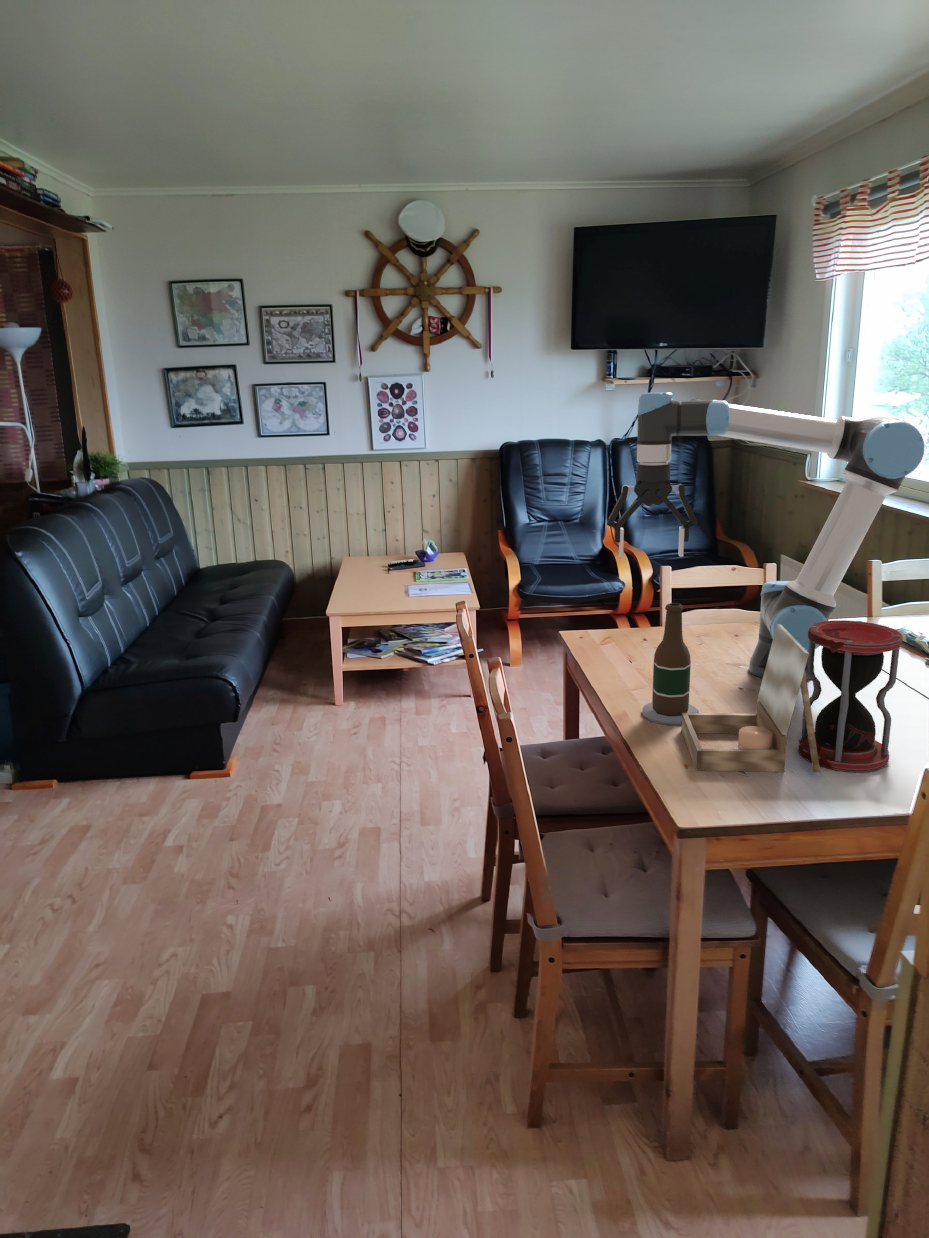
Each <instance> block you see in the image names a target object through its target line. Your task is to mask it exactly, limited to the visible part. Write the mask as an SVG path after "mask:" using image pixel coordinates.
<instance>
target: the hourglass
mask: <svg viewBox="0 0 929 1238" xmlns="http://www.w3.org/2000/svg"><path fill="white" fill-rule="evenodd" d="M808 638H809V650H808V653H809V656H808V661H807V672H808V676H809V677H810V679H809V680H811V681H812V685H813V691H812V695H811V696H809V699H810V705H811V706H812V705H813V703H814V702H816V701H817V700H818V699H819V698H820V696H821V694H822V685H821V682H820V680H819V679H818V678H817V677H816V674H815V670H814V671H813V667H814V668H815V656H816V655H815V654H816V653H815V652H816V649H815V643H816V644H818V645H820V646H821V653H820V655H821V656H820V657H821V658H820V659H821V667H822V669H823V672H824V674H825V675H826V676H827V678H828V679H829V681H831V682H832V683H833V685H835V687H836V688H837V690H839V692H840V695H838V696H837V697H835V698H834V699H833V700H832V701H830V702H829V703H828V704H827V705H825V706H824V707H823V708H822V709H821V710H820V712H819V713H818V714H817V716H816V720H815V723H814V733H815V739H816V746H817V753H818V760H819V766H820V767H823V768H826V769H830V770H834V771H840V772H849V773H869V772H874V771H878V770H880V769H883V768H885V767H886V766H887V764H889V760H890V751H889V742H890V735H891V727H892V717H891V713H890V712H889V711H888V709H887V707H886V704H885V698H886V696H887V693H888V692H889V691H890V690H891V689H892V688H893V687H894V686H895V684H896V681H897V674H898V664H899V658H900V657H899V655H900V649H901V646H903V635H902V633H901V632H900V631H898V630H896V629H895V628H892V627H889V626H886V625H882V624H878V623H874V622H866V621H863V620H862V621H861V620H846V619H845V620H842V619H841V620H828V621H824V622H819V623H815V624H813V625H811V626H810V627H809V628H808ZM820 646H819V647H820ZM886 652H891V657H890V667H889V676H888V681H887V682H886V683H885V686H883V687H882V688H880V689H879V690H878V693H877V694H876V697H875V700H876V706H877V708H878V709H879V711H880V712H881V713H882V717H883V719H884V720H883V730H882V739H881V742H880V741H877V740H876V734H877V733H876V721H875V720H874V718H873V715H872V714H871V713H870V711H869V710H868V709H867V707H866V706H865V705H864V704H863V703H862V702H861V701H860V700H859V699H858V698H857V697H856V696H857V695H856V694H858V693H859V692H861V691H862V690H864V689H865V688H866V687H868V686H869V685H870V684H871V683H872V682H874V681H875V680H876V679H877V678H878V676H879V675H880V674H881V672H882V671H883V670H882V669H883V665H884V661H885V655H884V653H886ZM801 721H802V724H801V732H800V733H801V735H800V738H799V739H798V749H797V750H798V753H799V754H800V755H801V756H802V758H804V759H805V760H807V761H808V762H810V763H812V760H811V753H810V746H809V740H808V733H807V726H806V720H805V713H804V707H803V711H802V720H801Z"/></svg>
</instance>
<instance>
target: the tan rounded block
mask: <svg viewBox="0 0 929 1238" xmlns="http://www.w3.org/2000/svg"><path fill="white" fill-rule="evenodd" d="M771 747H772V732H771V731H770V730H768V729H766V728H762V727H757V726H747V727H743V728H741V729H740V730H739V733H738V745H737V749H771Z"/></svg>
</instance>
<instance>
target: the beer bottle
mask: <svg viewBox="0 0 929 1238" xmlns="http://www.w3.org/2000/svg"><path fill="white" fill-rule="evenodd" d="M664 609H665V611H666V613H665V621H664V629H663V630H664V632H663V635H662V636H663V637H662V640H661V642H660V643H659V644H658V645H657V647H656V649H655V652H654V655H653V657H654V658H653V666H652V667H653V669H652V670H653V673H652V698H651V699H652V701H651V702H652V703H653V709H654V710H655V711H656V713H657V714H661V715H665V716H682V713H686V712H687V711H688V706H689V703H690V687H691V686H690V685H691V684H690V683H691V666H692V665H691V663H692V662H691V654H690V651H689V648H688V646H687V645H686V644H685V642H684V637H683V610H684V606H683V604H681V603H678V602H670V603H668V604H666V605H665V608H664Z"/></svg>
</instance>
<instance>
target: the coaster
mask: <svg viewBox="0 0 929 1238" xmlns="http://www.w3.org/2000/svg"><path fill="white" fill-rule="evenodd" d="M686 713H700V711H699V709H698V708H697V707H695V705H693V704H689V706H688V711H687V712H686ZM642 717H644V719H647V720H648V721H650V722H652V723H656V724H660V725H666V726H681V725H682V716H665V715H661V714H657V713H656V711H655V710H654V709H653V703H652V701H651V702H648V703H647V704H645V705H644V706H643V707H642Z"/></svg>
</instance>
